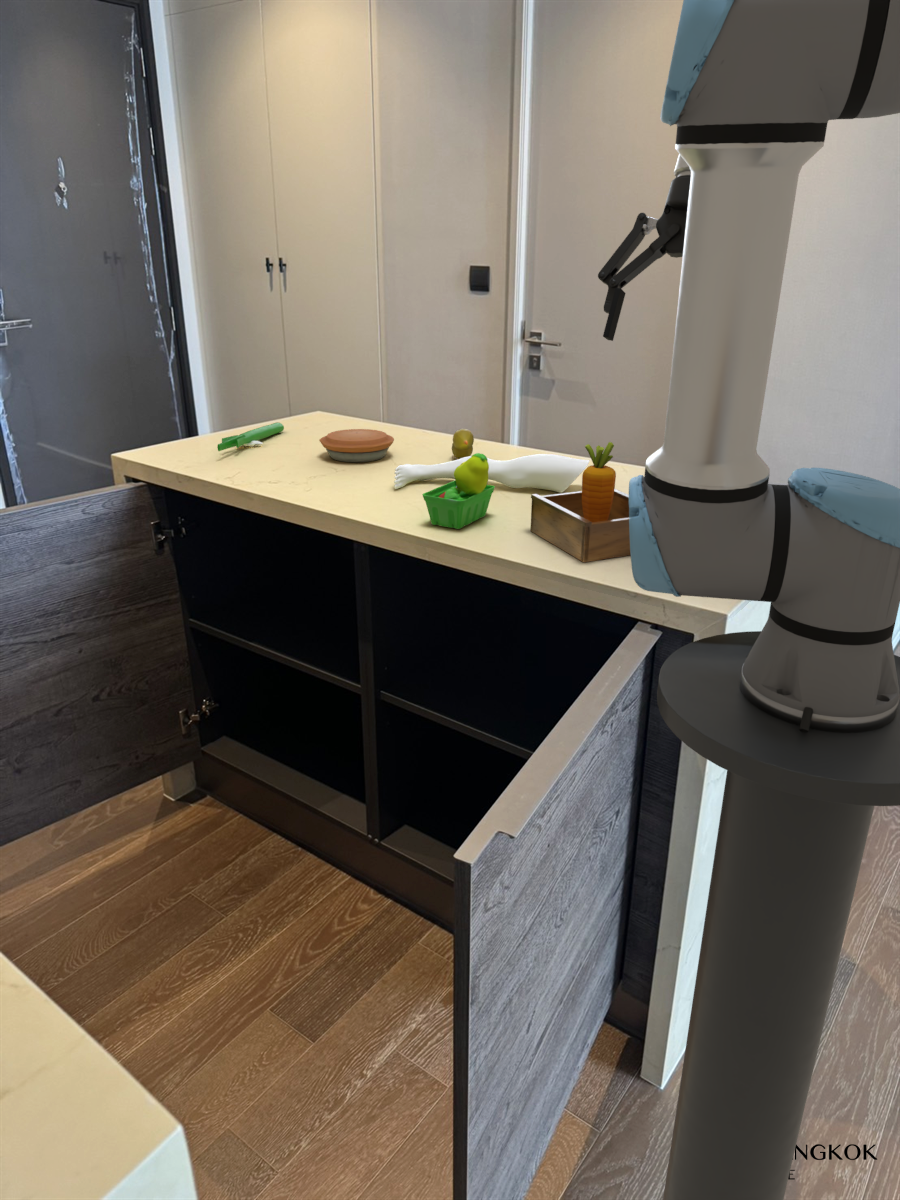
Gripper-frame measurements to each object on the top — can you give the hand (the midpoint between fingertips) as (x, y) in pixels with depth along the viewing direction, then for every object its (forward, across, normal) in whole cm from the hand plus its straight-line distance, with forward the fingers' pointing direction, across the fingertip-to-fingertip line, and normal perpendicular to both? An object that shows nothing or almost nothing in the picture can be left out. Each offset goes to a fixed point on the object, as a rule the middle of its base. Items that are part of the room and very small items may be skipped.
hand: (655, 348), depth 116 cm
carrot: (+28, +3, -8) cm, 30 cm away
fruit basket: (+31, +25, -8) cm, 41 cm away
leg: (+26, +30, -28) cm, 48 cm away
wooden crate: (+28, +3, -8) cm, 29 cm away
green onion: (+32, +90, -37) cm, 103 cm away
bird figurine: (+23, +44, -46) cm, 68 cm away
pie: (+28, +65, -38) cm, 80 cm away
